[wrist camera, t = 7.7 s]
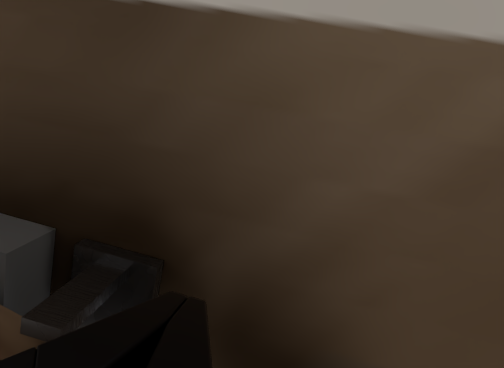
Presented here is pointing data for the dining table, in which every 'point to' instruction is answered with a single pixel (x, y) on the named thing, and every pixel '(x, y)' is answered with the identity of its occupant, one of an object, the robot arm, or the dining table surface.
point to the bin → (25, 263)
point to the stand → (94, 290)
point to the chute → (13, 334)
